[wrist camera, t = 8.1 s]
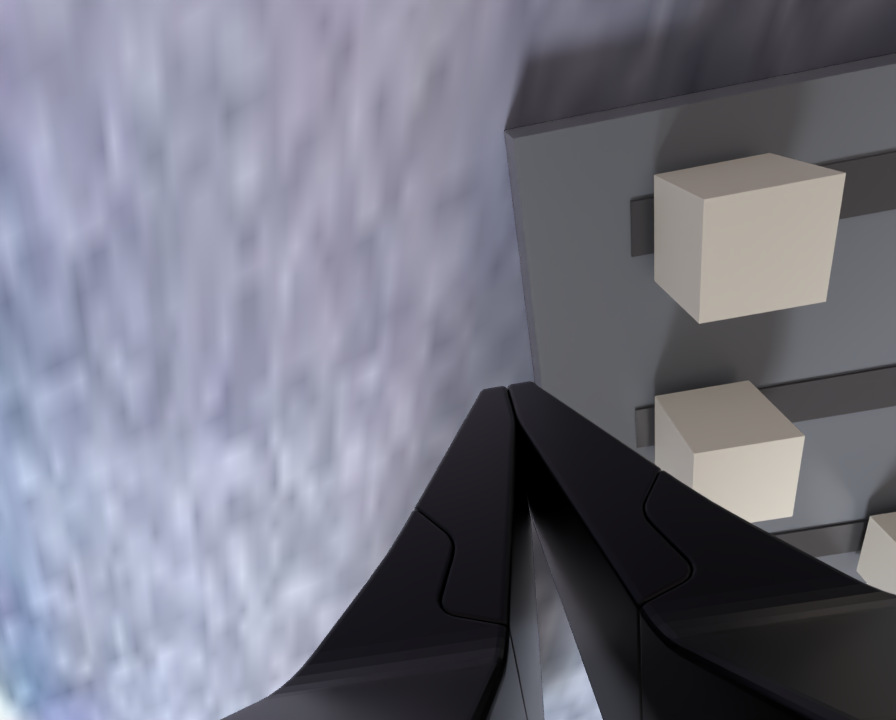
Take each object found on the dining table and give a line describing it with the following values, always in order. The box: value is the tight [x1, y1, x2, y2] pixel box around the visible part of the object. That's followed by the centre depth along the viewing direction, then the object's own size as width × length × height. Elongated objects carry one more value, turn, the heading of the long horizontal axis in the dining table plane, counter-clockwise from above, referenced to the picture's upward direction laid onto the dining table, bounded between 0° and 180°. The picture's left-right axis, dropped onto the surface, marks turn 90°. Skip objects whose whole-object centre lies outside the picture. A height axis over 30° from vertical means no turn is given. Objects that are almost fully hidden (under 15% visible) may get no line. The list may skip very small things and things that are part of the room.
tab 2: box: [655, 380, 805, 523], centre depth 17 cm, size 3×3×3 cm
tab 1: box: [654, 153, 846, 324], centre depth 14 cm, size 3×3×3 cm
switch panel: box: [504, 53, 896, 583], centre depth 19 cm, size 20×20×2 cm
